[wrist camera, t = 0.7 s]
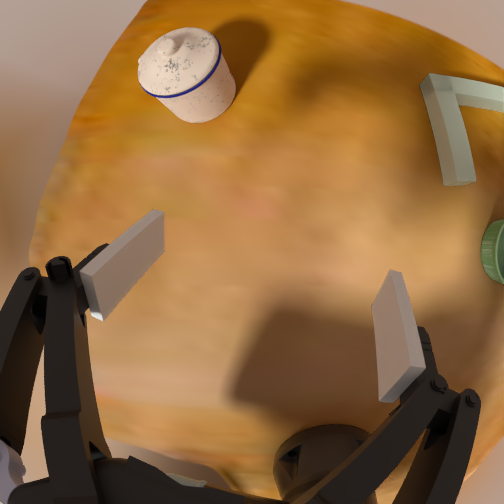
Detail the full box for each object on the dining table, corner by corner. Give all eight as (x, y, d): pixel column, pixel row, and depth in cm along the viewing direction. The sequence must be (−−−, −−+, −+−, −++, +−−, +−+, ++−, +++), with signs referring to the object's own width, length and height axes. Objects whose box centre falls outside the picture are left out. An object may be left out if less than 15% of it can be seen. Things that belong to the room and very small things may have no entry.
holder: (531, 186, 25) (545, 183, 22) (443, 186, 28) (457, 181, 25) (510, 100, 24) (521, 92, 21) (419, 85, 27) (428, 73, 24)
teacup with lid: (252, 77, 31) (230, 19, 19) (214, 136, 32) (175, 94, 21) (177, 54, 32) (140, 7, 21) (142, 106, 33) (92, 70, 22)
